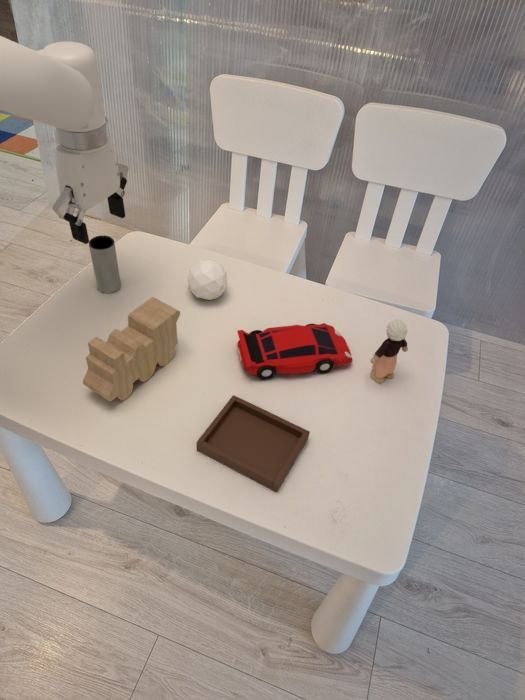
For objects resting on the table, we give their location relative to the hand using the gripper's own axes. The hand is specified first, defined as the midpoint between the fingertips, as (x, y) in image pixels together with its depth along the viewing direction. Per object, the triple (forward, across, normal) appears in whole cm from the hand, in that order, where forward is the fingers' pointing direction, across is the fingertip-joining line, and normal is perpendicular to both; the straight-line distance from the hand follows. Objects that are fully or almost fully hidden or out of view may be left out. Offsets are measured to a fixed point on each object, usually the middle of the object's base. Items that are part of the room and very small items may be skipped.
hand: (100, 227), depth 94 cm
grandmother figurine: (+14, -6, +54) cm, 56 cm away
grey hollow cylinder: (+13, 0, 0) cm, 13 cm away
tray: (+13, +18, +42) cm, 48 cm away
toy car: (+13, -2, +40) cm, 42 cm away
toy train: (+13, +16, +19) cm, 28 cm away
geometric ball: (+14, -8, +18) cm, 24 cm away
